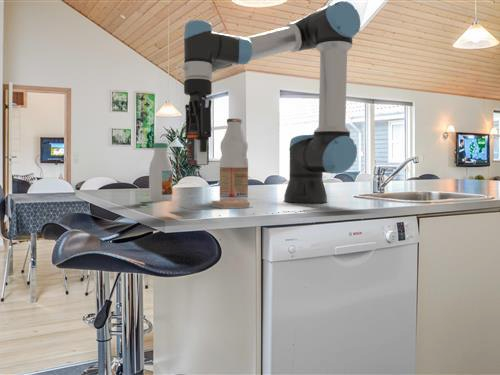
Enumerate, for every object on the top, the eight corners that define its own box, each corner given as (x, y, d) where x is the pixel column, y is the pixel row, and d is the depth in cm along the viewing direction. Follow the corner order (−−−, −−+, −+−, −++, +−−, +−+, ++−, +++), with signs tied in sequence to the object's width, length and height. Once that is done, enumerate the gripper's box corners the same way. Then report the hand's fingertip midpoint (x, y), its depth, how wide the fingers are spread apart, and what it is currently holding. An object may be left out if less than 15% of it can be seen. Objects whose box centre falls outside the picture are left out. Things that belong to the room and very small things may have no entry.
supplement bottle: (184, 164, 124) (184, 124, 124) (204, 165, 127) (205, 125, 126) (190, 165, 119) (190, 122, 118) (211, 165, 121) (211, 123, 121)
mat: (233, 206, 136) (233, 203, 136) (253, 211, 125) (253, 207, 125) (177, 209, 128) (177, 205, 128) (193, 214, 116) (193, 210, 116)
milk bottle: (153, 203, 144) (153, 142, 143) (146, 202, 150) (145, 143, 149) (175, 203, 148) (175, 143, 147) (167, 201, 154) (167, 143, 153)
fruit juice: (216, 204, 144) (216, 117, 142) (224, 202, 153) (224, 120, 152) (244, 205, 142) (244, 117, 140) (250, 202, 151) (251, 120, 149)
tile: (236, 199, 132) (249, 202, 125) (236, 205, 132) (249, 207, 125) (212, 200, 128) (223, 203, 121) (212, 206, 128) (223, 208, 121)
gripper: (173, 84, 128) (173, 164, 129) (197, 72, 111) (197, 164, 113) (198, 86, 131) (197, 164, 133) (224, 75, 115) (224, 164, 116)
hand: (197, 164), depth 123 cm, fingers closed on supplement bottle, 6 cm apart
